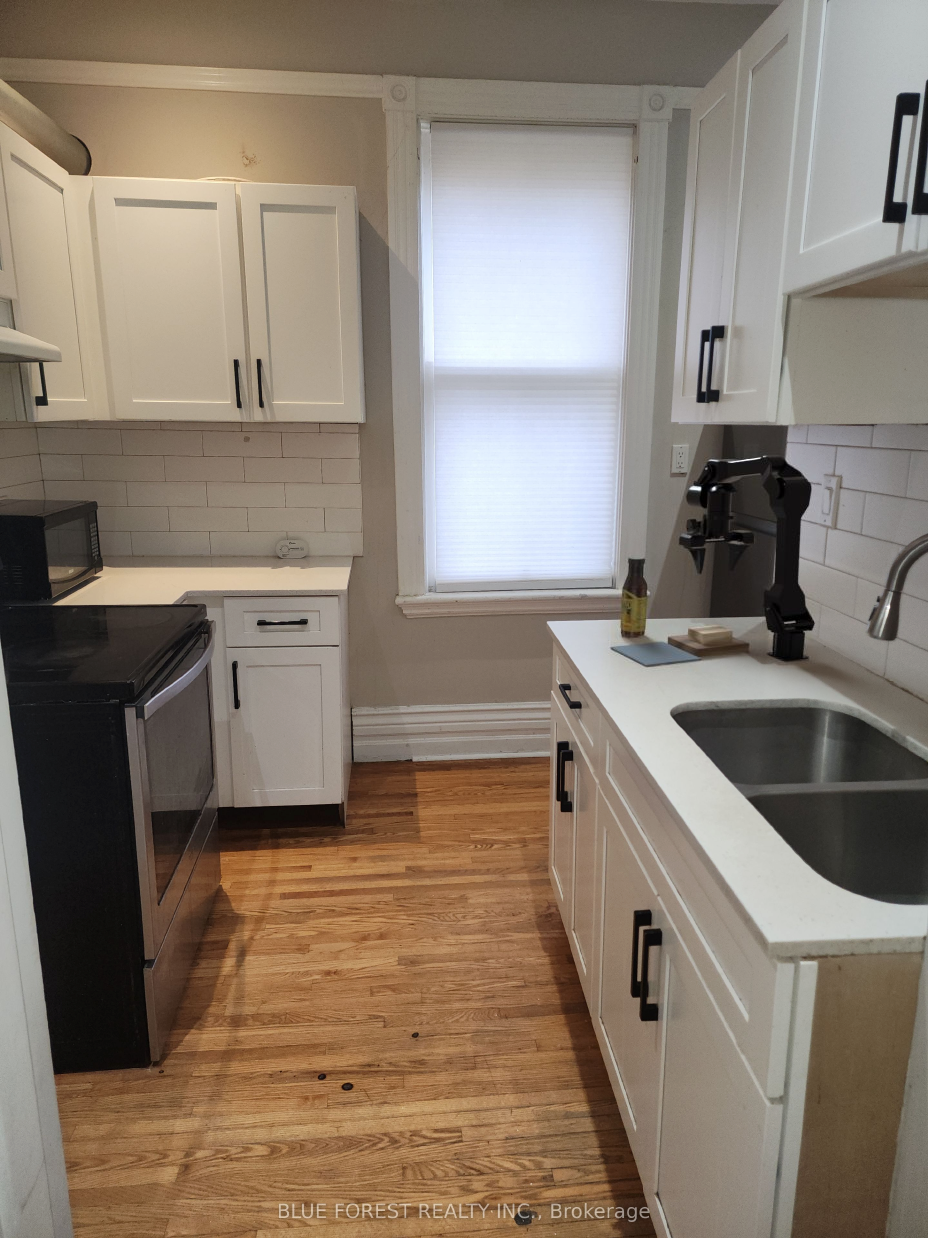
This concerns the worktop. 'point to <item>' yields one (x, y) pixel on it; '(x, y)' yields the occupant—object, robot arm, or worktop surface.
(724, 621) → the worktop surface
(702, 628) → the beech tile
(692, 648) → the walnut board
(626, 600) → the sauce bottle
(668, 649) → the rubber mat
